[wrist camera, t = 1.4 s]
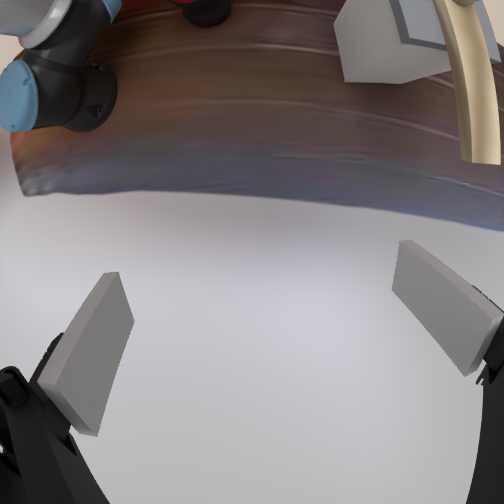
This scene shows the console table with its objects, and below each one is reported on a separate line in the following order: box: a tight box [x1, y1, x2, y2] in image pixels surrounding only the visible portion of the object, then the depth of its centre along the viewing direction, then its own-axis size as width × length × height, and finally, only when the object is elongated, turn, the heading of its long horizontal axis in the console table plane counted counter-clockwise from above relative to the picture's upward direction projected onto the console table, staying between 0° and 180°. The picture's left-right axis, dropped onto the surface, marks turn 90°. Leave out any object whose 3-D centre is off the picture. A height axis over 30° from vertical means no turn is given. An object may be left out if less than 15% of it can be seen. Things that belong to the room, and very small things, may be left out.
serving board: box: [432, 0, 500, 165], centre depth 11 cm, size 4×26×6 cm, turn 8°
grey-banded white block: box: [333, 0, 501, 84], centre depth 25 cm, size 12×12×28 cm
